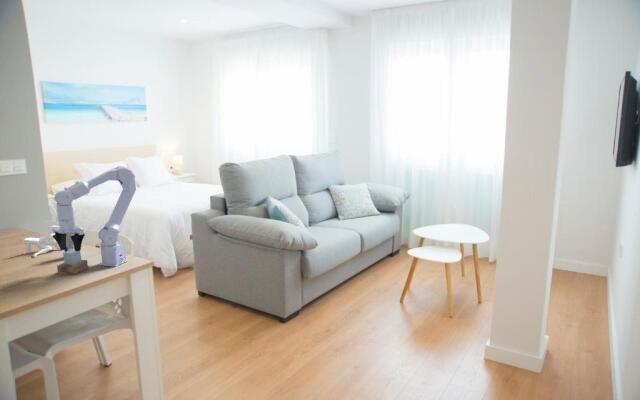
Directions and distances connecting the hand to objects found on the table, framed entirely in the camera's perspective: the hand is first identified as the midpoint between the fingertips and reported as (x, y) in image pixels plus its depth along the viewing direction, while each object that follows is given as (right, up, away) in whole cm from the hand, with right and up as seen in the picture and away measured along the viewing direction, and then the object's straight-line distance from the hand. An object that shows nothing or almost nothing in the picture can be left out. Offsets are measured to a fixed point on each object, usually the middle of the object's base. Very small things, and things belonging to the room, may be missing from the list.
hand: (70, 250), depth 181 cm
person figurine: (-30, -5, +31) cm, 43 cm away
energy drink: (-12, -6, +21) cm, 25 cm away
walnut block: (0, -9, +2) cm, 10 cm away
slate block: (0, -5, +1) cm, 6 cm away
